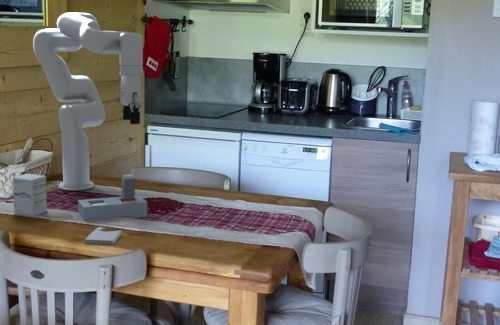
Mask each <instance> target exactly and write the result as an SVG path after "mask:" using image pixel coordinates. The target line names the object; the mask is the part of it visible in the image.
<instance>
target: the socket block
mask: <svg viewBox="0 0 500 325" xmlns="http://www.w3.org/2000/svg"><path fill="white" fill-rule="evenodd" d="M77 204H78V205H77V207H78V208H77V210H78V214H79V215H80V217H81V218H82V220H83V221H89V220H90V221H91V220H96V219H97V220H99V219H108V218H109V219H110V218H120V217H129V218H130V219H131V218H132V219H141V218H140V217H143V218H148V201H147V200H146V199H145V198H144V197H143V196H141V195H140V194H138V195H135V200H134V201H124V202H122V196H115V197H114V196H113V197H101V198H100V197H99V198H88V199H78V200H77Z"/></svg>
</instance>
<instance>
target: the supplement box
mask: <svg viewBox="0 0 500 325" xmlns="http://www.w3.org/2000/svg"><path fill="white" fill-rule="evenodd" d="M12 184H13V185H12V186H13V192H12V193H13V213H14V215H20V216H21V215H22V216H27V217H35V216H38V215H40V214H42V213H44V212H47V211H48V208H47V176H46V175H42V174H41V175H40V174H32V173H24V174H21V175H17V176H14V177H12Z"/></svg>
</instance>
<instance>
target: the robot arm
mask: <svg viewBox="0 0 500 325" xmlns="http://www.w3.org/2000/svg"><path fill="white" fill-rule="evenodd" d="M56 25H57V26H56V27H57V28H44V29H39V30H38V31H37V32H36V33H35V35H34V36H33V42H32V44H33V45H32V46H33V52H34V55H35V56H36V57H35V58H36V59H37V61H38V63H39V64H40V65H41V68H42V69H43V71H44V74H45V75H46V76H45V77H46V79H47V81H48V84H49V86H50V87H49V88H50V89H51V91H52V94H53V96H54V98H55V99H56V100H57V101H58V102H59V103H60V102H61V103H65V104H63V105H61V106H60V108H59V110H58V111H57V112H58V113H57V114H58V115H57V117H58V123H59V127H60V133H61V147H62V148H61V149H62V150H61V153H62V158H61V159H62V179H63V180H62V182H60V183H58V187H59V189H61V190H65V191H72V192H73V191H85V190H90V189H93V187H94V186H95V184H94V182H93V181H91V180H90V148H89V147H90V146H89V143H90V142H89V137H88V135H87V134H86V132H85V131H84V129H85V128H91V127H92V128H93V127H97V126H100V125H103V123H104V122H105V120H106V111H105V107H104V104H103V102H102V100H101V97H100V94H99V93H98V89H97V87H96V84H95V83H94V81H93V80H92V79H91V78H90V77H88V76H86V75H73V74H72V73H71V71H70V68H69V67H68V63H67V62H66V61H65V60H64V59H63V57H61V56H60V55H58V54H57V53H67V52H70V53H72V52H77V51H79V50H80V49H82V48H84V49H85V50H88V51H90V52H93V53H94V54H95V53H96V54H99V55H119V75H120V77H121V78H120V92H119V94H120V97H119V98H120V99H119V101H120V104H122V120H123V121H129V124H130V125H140V124H141V108H140V107H141V106H140V105H141V100H142V90H141V89H142V87H141V85H142V84H141V76H143V75H144V74H143V72H144V71H143V68H144V66H143V64H144V61H143V60H144V58H143V57H144V52H143V47H144V45H143V44H144V43H143V41H144V40H143V35H142V34H141V33H138V32H128V31H123V30H122V31H118V30H116V31H115V30H101V27H100V25H99V23H98V20H97V18H96V17H95V16H94V15H93V14H90V13H87V12H65V13H63V14H61V15H60V16H59V17H58V18H57V21H56Z"/></svg>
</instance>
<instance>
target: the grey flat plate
mask: <svg viewBox="0 0 500 325" xmlns="http://www.w3.org/2000/svg"><path fill="white" fill-rule="evenodd" d="M46 216H47V217H48V219H49V220H50V221H51V222H54V221H55V222H56V221H68V220H75V218H74V216H73V214H72V213H71V212H70V211H67V212H58V213H57V212H56V213H55V212H54V213H46Z"/></svg>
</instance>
